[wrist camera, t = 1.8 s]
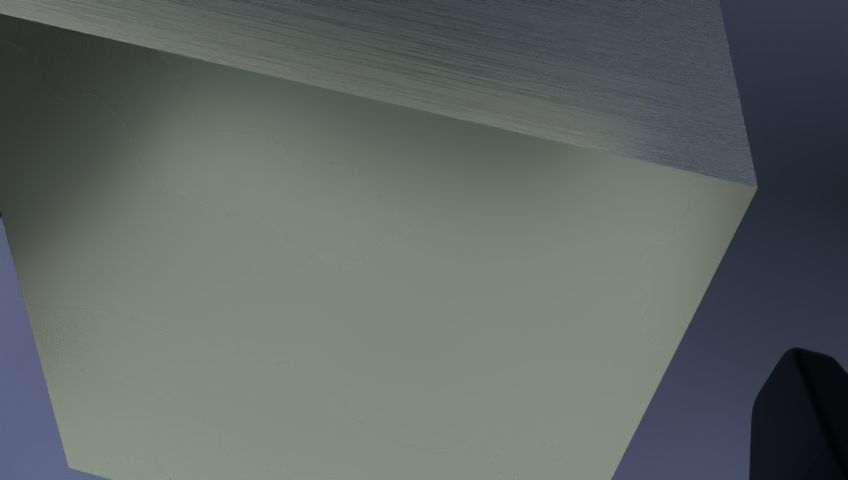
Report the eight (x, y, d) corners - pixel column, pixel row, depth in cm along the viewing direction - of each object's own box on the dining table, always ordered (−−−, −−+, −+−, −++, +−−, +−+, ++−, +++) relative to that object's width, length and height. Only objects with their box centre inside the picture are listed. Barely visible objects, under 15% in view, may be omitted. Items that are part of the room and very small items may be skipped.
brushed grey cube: (703, -78, 10) (758, 186, 5) (580, 271, 14) (550, 600, 9) (250, -171, 10) (-58, 1, 6) (252, 192, 14) (69, 468, 10)
